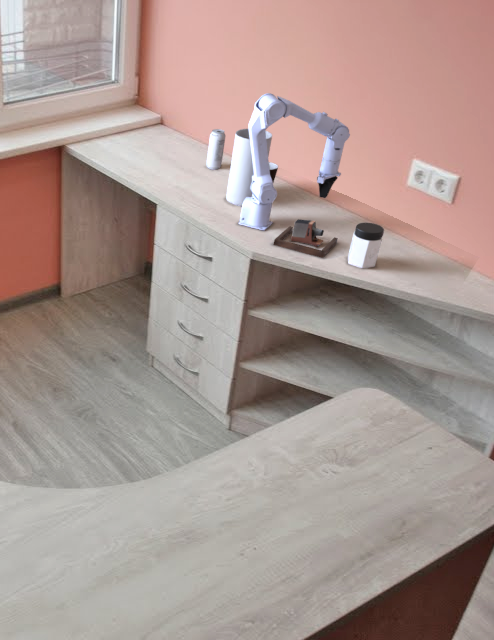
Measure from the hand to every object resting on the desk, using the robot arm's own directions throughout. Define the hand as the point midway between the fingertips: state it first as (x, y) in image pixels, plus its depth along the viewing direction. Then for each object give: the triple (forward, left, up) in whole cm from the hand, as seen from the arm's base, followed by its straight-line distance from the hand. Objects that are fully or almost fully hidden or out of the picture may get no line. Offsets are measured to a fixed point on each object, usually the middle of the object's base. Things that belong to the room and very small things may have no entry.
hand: (323, 197), depth 274 cm
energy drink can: (-53, +28, -10) cm, 61 cm away
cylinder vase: (-29, +3, -10) cm, 31 cm away
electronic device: (+3, -18, -10) cm, 21 cm away
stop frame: (+3, -19, -9) cm, 21 cm away
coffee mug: (-28, +17, -10) cm, 34 cm away
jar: (+22, -22, -10) cm, 33 cm away
